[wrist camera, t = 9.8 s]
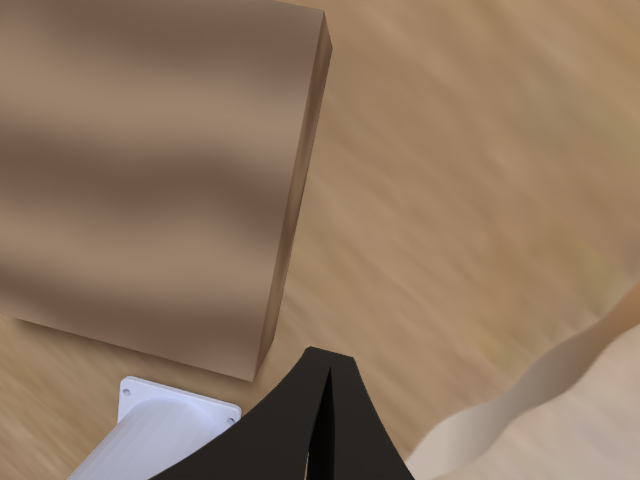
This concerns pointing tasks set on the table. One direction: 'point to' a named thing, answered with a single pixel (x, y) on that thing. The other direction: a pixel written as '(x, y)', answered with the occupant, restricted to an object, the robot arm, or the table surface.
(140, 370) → the table surface
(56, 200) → the plate
